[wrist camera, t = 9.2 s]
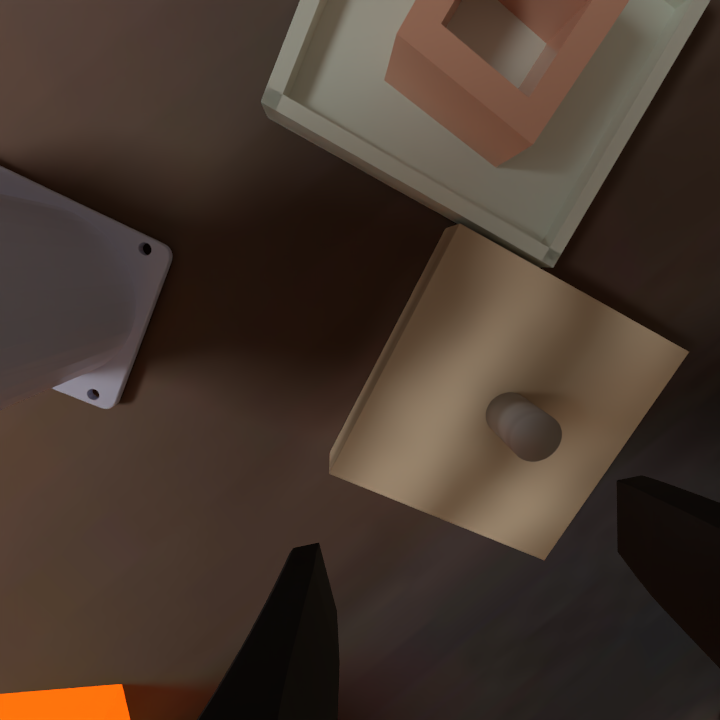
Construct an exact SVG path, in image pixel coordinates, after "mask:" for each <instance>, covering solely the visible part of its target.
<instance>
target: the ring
mask: <svg viewBox="0 0 720 720" xmlns="http://www.w3.org/2000/svg"><path fill="white" fill-rule="evenodd" d="M461 1H462V0H415V2H414V4H413V5H412V7H411V9H410V11H409V12H408V14H407V16H406V18H405V20H404V21H403V23H402V25H401V27H400V28H399V30H398V32H397V34H396V38H395V41H394V45H393V49H392V53H391V56H390V60H389V64H388V68H387V71H386V75H385V79H384V80H385V81H386V82H387V83H388V84H390V85H391V86H392V87H393V88H395V89H396V90H397V91H399V92H400V93H401V94H402V95H404V96H405V97H406V98H408V99H409V100H410V101H411V102H413V103H414V104H415V105H416V106H418V107H419V108H420V109H422V110H423V111H424V112H425V113H427V114H428V115H429V116H431V117H432V118H433V119H434V120H436V121H437V122H438V123H440V124H441V125H442V126H443V127H445V128H446V129H447V130H448V131H450V132H451V133H452V134H454V135H455V136H456V137H457V138H459V139H460V140H461V141H463V142H464V143H465V144H466V145H468V146H469V147H470V148H471V149H473V150H474V151H475V152H477V153H478V154H479V155H480V156H482V157H483V158H484V159H486V160H487V161H488V162H489V163H491V164H492V165H493V166H495V167H497V166H499V165H501V164H502V163H504V162H506V161H507V160H509V159H511V158H512V157H514V156H515V155H517V154H519V153H520V152H522V151H524V150H525V149H527V148H528V147H530V146H532V145H533V144H534V142H535V141H536V139H537V138H538V136H539V135H540V133H541V132H542V130H543V129H544V127H545V126H546V124H547V123H548V121H549V120H550V118H551V117H552V115H553V114H554V112H555V111H556V109H557V108H558V106H559V105H560V103H561V102H562V100H563V99H564V97H565V96H566V94H567V93H568V91H569V90H570V88H571V87H572V85H573V84H574V82H575V81H576V80H577V78H578V77H579V75H580V74H581V72H582V71H583V69H584V68H585V66H586V65H587V63H588V62H589V60H590V59H591V57H592V56H593V54H594V53H595V51H596V50H597V48H598V47H599V45H600V44H601V42H602V41H603V39H604V38H605V36H606V35H607V33H608V32H609V30H610V29H611V27H612V26H613V24H614V23H615V21H616V20H617V18H618V17H619V15H620V14H621V12H622V11H623V9H624V8H625V6H626V5H627V3H628V2H629V0H498V1H499V2H500V3H501V4H503V5H504V6H505V7H506V8H507V9H508V10H509V11H510V12H512V13H513V14H514V15H515V16H516V17H517V18H518V19H519V20H521V21H522V22H523V23H524V24H525V25H526V26H527V27H528V28H530V29H531V30H532V31H533V32H534V33H535V34H536V35H537V36H539V37H540V38H541V39H542V40H543V41H544V42H545V43H546V46H545V48H544V49H543V51H542V52H541V54H540V55H539V57H538V59H537V60H536V62H535V63H534V65H533V66H532V68H531V69H530V71H529V73H528V74H527V76H526V77H525V79H524V80H523V82H522V83H521V85H520V87H519V88H517V87H515V86H514V85H513V84H512V83H511V82H509V81H508V80H507V79H506V78H505V77H503V76H502V75H501V74H500V73H499V72H498V71H496V70H495V69H494V68H493V67H492V66H490V65H489V64H488V63H487V62H486V61H485V60H483V59H482V58H481V57H480V56H479V55H477V54H476V53H475V52H474V51H473V50H472V49H470V48H469V47H468V46H467V45H466V44H464V43H463V42H462V41H461V40H460V39H458V38H457V37H456V36H455V35H454V34H453V33H451V32H450V31H449V30H448V29H447V28H446V27H447V25H448V23H449V22H450V20H451V18H452V17H453V15H454V13H455V11H456V10H457V8H458V6H459V5H460V3H461Z"/></svg>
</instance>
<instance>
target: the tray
mask: <svg viewBox="0 0 720 720" xmlns="http://www.w3.org/2000/svg"><path fill="white" fill-rule="evenodd" d="M414 2H415V0H300V2H299V5H298V7H297V10H296V12H295V15H294V17H293V20H292V23H291V25H290V28H289V30H288V33H287V35H286V38H285V41H284V43H283V46H282V48H281V51H280V53H279V56H278V59H277V61H276V64H275V66H274V69H273V71H272V74H271V77H270V79H269V82H268V84H267V87H266V90H265V92H264V95H263V97H262V100H261V104H262V106H263V108H264V111H265V113H266V115H267V117H268V118H269V119H271V120H273V121H274V122H276V123H278V124H280V125H281V126H283V127H285V128H287V129H289V130H290V131H292V132H294V133H296V134H298V135H299V136H301V137H303V138H305V139H306V140H308V141H310V142H312V143H314V144H315V145H317V146H319V147H321V148H323V149H324V150H326V151H328V152H330V153H331V154H333V155H335V156H337V157H339V158H340V159H342V160H344V161H346V162H348V163H349V164H351V165H353V166H355V167H356V168H358V169H360V170H362V171H364V172H365V173H367V174H369V175H371V176H373V177H374V178H376V179H378V180H380V181H381V182H383V183H385V184H387V185H389V186H390V187H392V188H394V189H396V190H398V191H399V192H401V193H403V194H405V195H406V196H408V197H410V198H412V199H414V200H415V201H417V202H419V203H421V204H423V205H424V206H426V207H428V208H430V209H431V210H433V211H435V212H437V213H439V214H440V215H442V216H444V217H446V218H448V219H449V220H451V221H453V222H455V223H456V224H462V225H464V226H466V227H467V228H469V229H471V230H473V231H475V232H476V233H478V234H480V235H482V236H484V237H485V238H487V239H489V240H491V241H492V242H494V243H496V244H498V245H500V246H501V247H503V248H505V249H507V250H508V251H510V252H512V253H514V254H516V255H517V256H519V257H521V258H523V259H524V260H526V261H528V262H530V263H532V264H533V265H535V266H537V267H546V268H553V267H554V266H555V264H556V262H557V260H558V259H559V257H560V255H561V254H562V252H563V250H564V248H565V247H566V245H567V243H568V242H569V240H570V238H571V237H572V235H573V233H574V231H575V230H576V228H577V226H578V225H579V223H580V221H581V220H582V218H583V216H584V214H585V213H586V211H587V209H588V208H589V206H590V204H591V203H592V201H593V199H594V197H595V196H596V194H597V192H598V191H599V189H600V187H601V186H602V184H603V182H604V180H605V179H606V177H607V175H608V174H609V172H610V170H611V169H612V167H613V165H614V163H615V162H616V160H617V158H618V157H619V155H620V153H621V152H622V150H623V148H624V146H625V145H626V143H627V141H628V140H629V138H630V136H631V134H632V133H633V131H634V129H635V128H636V126H637V124H638V123H639V121H640V119H641V117H642V116H643V114H644V112H645V111H646V109H647V107H648V106H649V104H650V102H651V100H652V99H653V97H654V95H655V94H656V92H657V90H658V89H659V87H660V85H661V83H662V82H663V80H664V78H665V77H666V75H667V73H668V72H669V70H670V68H671V66H672V65H673V63H674V61H675V60H676V58H677V56H678V55H679V53H680V51H681V49H682V48H683V46H684V44H685V43H686V41H687V39H688V37H689V36H690V34H691V32H692V31H693V29H694V27H695V26H696V24H697V22H698V20H699V19H700V17H701V15H702V14H703V12H704V10H705V9H706V7H707V5H708V3H709V2H710V0H629V2H628V3H627V5H626V6H625V8H624V9H623V11H622V12H621V14H620V15H619V17H618V18H617V20H616V21H615V23H614V24H613V26H612V27H611V29H610V30H609V32H608V33H607V35H606V36H605V38H604V39H603V41H602V42H601V44H600V45H599V47H598V48H597V50H596V51H595V53H594V54H593V56H592V57H591V59H590V60H589V62H588V63H587V65H586V66H585V68H584V69H583V71H582V72H581V74H580V75H579V77H578V78H577V80H576V81H575V82H574V84H573V85H572V87H571V88H570V90H569V91H568V93H567V94H566V96H565V97H564V99H563V100H562V102H561V103H560V105H559V106H558V108H557V109H556V111H555V112H554V114H553V115H552V117H551V118H550V120H549V121H548V123H547V124H546V126H545V127H544V129H543V130H542V132H541V133H540V135H539V136H538V138H537V139H536V141H535V142H534V144H533V145H532V146H530V147H528V148H527V149H525V150H524V151H522V152H520V153H519V154H517V155H515V156H514V157H512V158H511V159H509V160H507V161H506V162H504V163H502V164H501V165H499V166H497V167H495V166H493V165H492V164H491V163H489V162H488V161H487V160H486V159H484V158H483V157H482V156H480V155H479V154H478V153H477V152H475V151H474V150H473V149H471V148H470V147H469V146H468V145H466V144H465V143H464V142H463V141H461V140H460V139H459V138H457V137H456V136H455V135H454V134H452V133H451V132H450V131H448V130H447V129H446V128H445V127H443V126H442V125H441V124H440V123H438V122H437V121H436V120H434V119H433V118H432V117H431V116H429V115H428V114H427V113H425V112H424V111H423V110H422V109H420V108H419V107H418V106H416V105H415V104H414V103H413V102H411V101H410V100H409V99H408V98H406V97H405V96H404V95H402V94H401V93H400V92H399V91H397V90H396V89H395V88H393V87H392V86H391V85H390V84H388V83H387V82H386V81H385V80H384V79H385V75H386V71H387V68H388V64H389V60H390V56H391V53H392V49H393V45H394V41H395V38H396V34H397V32H398V30H399V28H400V27H401V25H402V23H403V21H404V20H405V18H406V16H407V14H408V12H409V11H410V9H411V7H412V5H413V4H414ZM446 28H447V29H448V30H449V31H450V32H451V33H453V34H454V35H455V36H456V37H457V38H458V39H460V40H461V41H462V42H463V43H464V44H466V45H467V46H468V47H469V48H470V49H472V50H473V51H474V52H475V53H476V54H477V55H479V56H480V57H481V58H482V59H483V60H485V61H486V62H487V63H488V64H489V65H490V66H492V67H493V68H494V69H495V70H496V71H498V72H499V73H500V74H501V75H502V76H503V77H505V78H506V79H507V80H508V81H509V82H511V83H512V84H513V85H514V86H515V87H517V88H519V87H520V85H521V83H522V82H523V80H524V79H525V77H526V76H527V74H528V73H529V71H530V69H531V68H532V66H533V65H534V63H535V62H536V60H537V59H538V57H539V55H540V54H541V52H542V51H543V49H544V48H545V46H546V43H545V42H544V41H543V40H542V39H541V38H540V37H539V36H537V35H536V34H535V33H534V32H533V31H532V30H531V29H530V28H528V27H527V26H526V25H525V24H524V23H523V22H522V21H521V20H519V19H518V18H517V17H516V16H515V15H514V14H513V13H512V12H510V11H509V10H508V9H507V8H506V7H505V6H504V5H503V4H501V3H500V2H499V1H498V0H462V1H461V3H460V5H459V6H458V8H457V10H456V11H455V13H454V15H453V17H452V18H451V20H450V22H449V23H448V25H447V27H446Z"/></svg>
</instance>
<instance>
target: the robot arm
mask: <svg viewBox="0 0 720 720" xmlns="http://www.w3.org/2000/svg"><path fill="white" fill-rule="evenodd" d="M146 243H148V244H149V245H150V246H151V253H150V254H149V255H146V254H145V253H144V251H143V246H144V245H145V244H146ZM172 258H173V255H172V251H171V249H170V248H169V247H168V246H167V245H166V244H164V243H162V242H160V241H158V240H155V239H153V238H151V237H149V236H147V235H145V234H143V233H141V232H139V231H137V230H135V229H132V228H130V227H128V226H126V225H124V224H122V223H120V222H118V221H116V220H114V219H111V218H109V217H107V216H105V215H103V214H101V213H99V212H97V211H95V210H93V209H90V208H88V207H86V206H84V205H82V204H80V203H78V202H76V201H74V200H72V199H70V198H67V197H65V196H63V195H61V194H59V193H57V192H55V191H53V190H51V189H49V188H46V187H44V186H42V185H40V184H38V183H36V182H34V181H32V180H30V179H28V178H25V177H23V176H21V175H19V174H17V173H15V172H13V171H11V170H9V169H7V168H4V167H2V166H0V410H2V409H5V408H7V407H9V406H11V405H14V404H16V403H18V402H21V401H23V400H25V399H28V398H30V397H32V396H35V395H37V394H39V393H42V392H44V391H46V390H49V389H51V388H52V389H54V390H57V391H59V392H62V393H65V394H67V395H70V396H72V397H75V398H77V399H80V400H82V401H85V402H88V403H90V404H93V405H95V406H98V407H100V408H104V409H109V408H112V407H113V406H115V405H117V404H118V402H119V401H120V399H121V396H122V393H123V391H124V388H125V385H126V382H127V380H128V377H129V374H130V372H131V369H132V366H133V364H134V361H135V358H136V356H137V353H138V350H139V348H140V345H141V342H142V340H143V337H144V334H145V332H146V329H147V326H148V324H149V321H150V318H151V316H152V313H153V310H154V307H155V305H156V302H157V299H158V297H159V294H160V291H161V289H162V286H163V283H164V281H165V278H166V275H167V273H168V270H169V267H170V265H171V262H172ZM93 389H95V390H97V391H98V393H99V397H97V396H95V395H94V394H93ZM617 532H618V553H619V554H620V555H621V557H622V558H623V559H624V561H625V562H626V563H627V565H628V566H629V567H630V569H631V570H632V571H633V573H634V574H635V576H636V577H637V578H638V579H639V581H640V582H641V583H642V584H643V586H644V587H645V588H646V589H647V591H648V592H649V593H650V594H651V596H652V597H653V598H654V599H655V600H656V601H657V602H658V603H659V604H660V606H661V607H662V608H663V609H664V610H665V611H666V612H667V613H668V614H669V615H670V616H671V617H672V618H673V619H674V621H675V622H676V623H677V624H678V625H679V626H680V627H681V628H682V629H683V630H684V631H685V632H686V633H687V634H688V635H689V636H690V638H691V639H692V640H693V641H694V642H695V643H696V644H697V645H698V646H699V647H700V648H701V649H702V650H703V651H704V652H705V653H706V654H707V655H708V656H709V657H710V659H711V660H712V661H713V662H714V663H715V664H716V665H717V666H718V667H719V668H720V503H719V502H716V501H713V500H710V499H708V498H705V497H702V496H700V495H697V494H694V493H692V492H689V491H686V490H683V489H681V488H678V487H675V486H672V485H669V484H667V483H664V482H661V481H658V480H655V479H652V478H648V477H645V476H637V477H632V478H627V479H622V480H618V481H617ZM338 689H339V643H338V625H337V610H336V607H335V603H334V599H333V595H332V591H331V587H330V583H329V580H328V576H327V572H326V568H325V564H324V560H323V557H322V553H321V549H320V545H319V543H315V544H311V545H306V546H301V547H296V548H293V549H292V551H291V552H290V554H289V556H288V558H287V560H286V562H285V564H284V567H283V569H282V571H281V573H280V575H279V577H278V579H277V581H276V583H275V585H274V587H273V589H272V591H271V593H270V595H269V597H268V599H267V601H266V603H265V605H264V607H263V609H262V610H261V612H260V614H259V616H258V618H257V620H256V622H255V623H254V625H253V627H252V629H251V631H250V633H249V635H248V636H247V638H246V640H245V642H244V644H243V645H242V647H241V649H240V650H239V652H238V654H237V656H236V657H235V659H234V661H233V662H232V664H231V666H230V667H229V669H228V671H227V672H226V674H225V676H224V677H223V679H222V681H221V682H220V684H219V686H218V688H217V689H216V691H215V692H214V694H213V696H212V697H211V699H210V700H209V702H208V704H207V705H206V707H205V708H204V710H203V711H202V713H201V714H200V716H199V718H198V719H197V720H337V716H338Z"/></svg>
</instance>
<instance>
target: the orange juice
mask: <svg viewBox="0 0 720 720" xmlns="http://www.w3.org/2000/svg"><path fill="white" fill-rule="evenodd" d="M0 720H130V717H129V712H128V708H127V704H126V700H125V695H124V691H123V687H122V684H117V685H105V686H93V687H81V688H68V689H56V690H44V691H32V692H20V693H8V694H0Z"/></svg>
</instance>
